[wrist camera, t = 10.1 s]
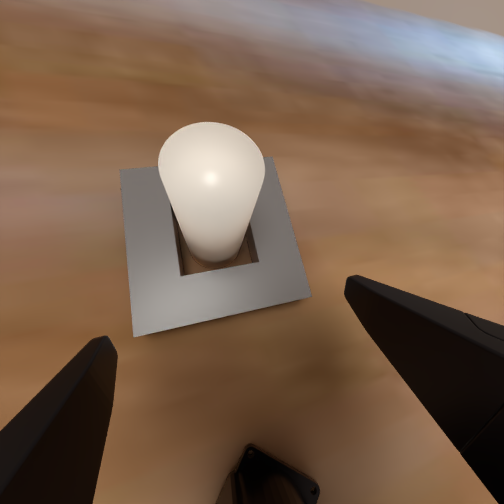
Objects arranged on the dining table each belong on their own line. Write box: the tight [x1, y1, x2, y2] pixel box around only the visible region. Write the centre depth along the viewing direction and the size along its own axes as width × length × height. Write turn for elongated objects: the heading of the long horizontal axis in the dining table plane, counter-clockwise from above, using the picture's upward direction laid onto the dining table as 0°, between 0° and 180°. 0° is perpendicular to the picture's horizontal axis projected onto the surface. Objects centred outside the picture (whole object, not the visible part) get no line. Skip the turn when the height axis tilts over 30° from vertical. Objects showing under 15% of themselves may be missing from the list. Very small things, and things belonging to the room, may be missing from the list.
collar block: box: [120, 157, 312, 337], centre depth 21 cm, size 14×14×3 cm
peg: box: [158, 122, 265, 269], centre depth 16 cm, size 5×5×12 cm
